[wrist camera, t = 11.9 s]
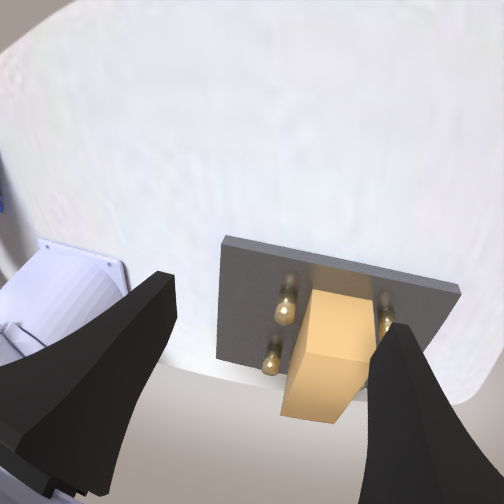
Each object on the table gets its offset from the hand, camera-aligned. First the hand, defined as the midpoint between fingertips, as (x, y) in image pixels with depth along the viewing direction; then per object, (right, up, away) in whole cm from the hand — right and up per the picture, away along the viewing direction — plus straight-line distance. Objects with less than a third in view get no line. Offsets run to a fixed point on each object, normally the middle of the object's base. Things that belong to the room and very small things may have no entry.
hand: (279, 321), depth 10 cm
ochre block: (+4, -4, +12) cm, 13 cm away
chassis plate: (+5, -3, +13) cm, 14 cm away
